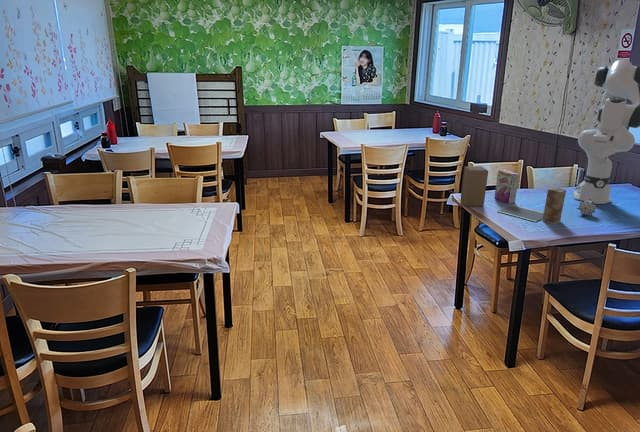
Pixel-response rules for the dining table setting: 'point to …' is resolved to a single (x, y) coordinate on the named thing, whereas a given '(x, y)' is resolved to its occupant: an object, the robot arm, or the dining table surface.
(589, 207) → the cream knobbly lump
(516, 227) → the dining table surface
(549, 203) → the walnut block
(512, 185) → the candy bar box
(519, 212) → the grey flat plate
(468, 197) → the wooden block
